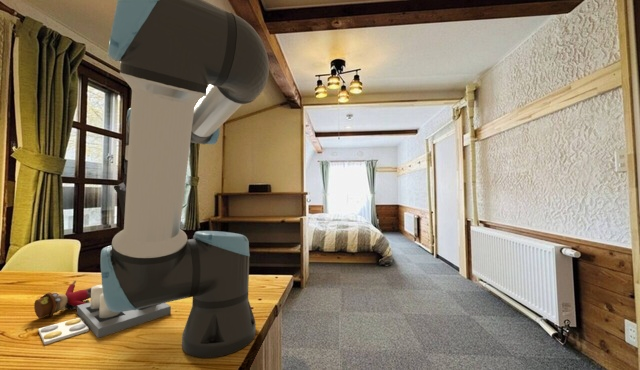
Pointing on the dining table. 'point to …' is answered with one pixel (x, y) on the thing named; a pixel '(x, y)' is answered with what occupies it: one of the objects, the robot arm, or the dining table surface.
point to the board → (119, 318)
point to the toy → (61, 301)
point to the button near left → (105, 309)
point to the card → (62, 330)
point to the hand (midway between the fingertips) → (137, 242)
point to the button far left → (96, 296)
